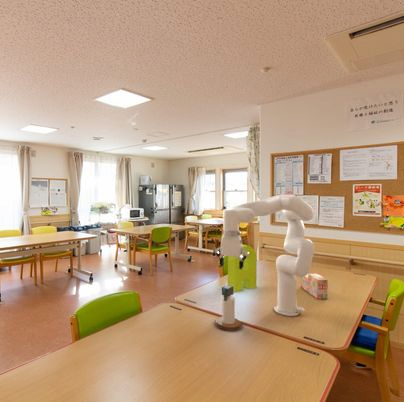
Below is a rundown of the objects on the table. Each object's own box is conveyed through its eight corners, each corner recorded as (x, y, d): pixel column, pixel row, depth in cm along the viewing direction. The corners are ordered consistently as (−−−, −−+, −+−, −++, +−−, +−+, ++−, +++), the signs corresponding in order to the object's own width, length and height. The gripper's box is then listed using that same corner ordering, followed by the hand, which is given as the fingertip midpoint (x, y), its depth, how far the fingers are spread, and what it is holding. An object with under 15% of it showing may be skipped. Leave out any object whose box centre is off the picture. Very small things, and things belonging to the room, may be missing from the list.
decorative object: (234, 292, 192) (234, 247, 191) (227, 289, 198) (227, 245, 197) (256, 287, 202) (256, 244, 200) (249, 284, 207) (249, 242, 206)
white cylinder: (224, 315, 154) (224, 281, 153) (244, 323, 146) (244, 286, 145) (211, 323, 146) (212, 286, 145) (232, 331, 137) (232, 292, 137)
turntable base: (244, 323, 148) (244, 321, 148) (237, 333, 137) (237, 331, 137) (220, 317, 155) (220, 315, 155) (211, 326, 144) (211, 324, 144)
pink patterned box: (300, 287, 201) (301, 269, 201) (309, 287, 201) (310, 269, 201) (317, 298, 180) (317, 279, 179) (327, 299, 180) (327, 279, 179)
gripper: (250, 233, 143) (250, 267, 144) (217, 231, 152) (217, 263, 153) (246, 235, 137) (246, 271, 137) (211, 233, 146) (212, 266, 147)
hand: (231, 267), depth 145 cm, fingers open, 9 cm apart
